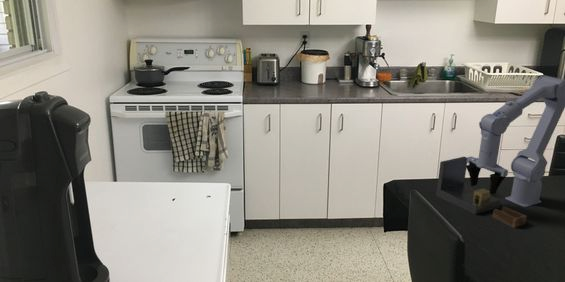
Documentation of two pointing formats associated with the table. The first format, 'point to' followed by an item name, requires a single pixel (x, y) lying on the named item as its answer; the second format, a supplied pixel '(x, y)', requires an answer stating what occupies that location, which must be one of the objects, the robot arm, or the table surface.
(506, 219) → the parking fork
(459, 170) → the dark grey l-shaped block
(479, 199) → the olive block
